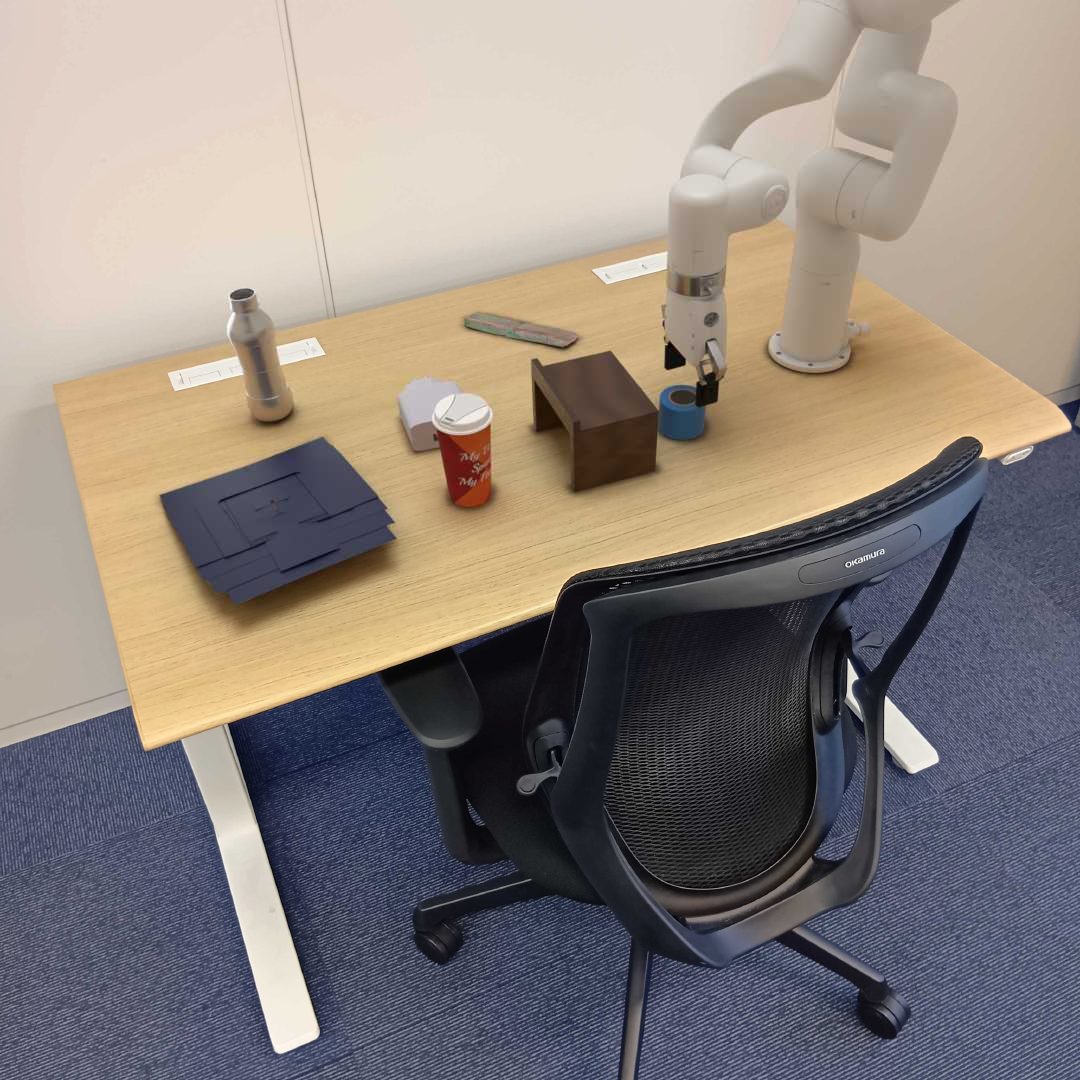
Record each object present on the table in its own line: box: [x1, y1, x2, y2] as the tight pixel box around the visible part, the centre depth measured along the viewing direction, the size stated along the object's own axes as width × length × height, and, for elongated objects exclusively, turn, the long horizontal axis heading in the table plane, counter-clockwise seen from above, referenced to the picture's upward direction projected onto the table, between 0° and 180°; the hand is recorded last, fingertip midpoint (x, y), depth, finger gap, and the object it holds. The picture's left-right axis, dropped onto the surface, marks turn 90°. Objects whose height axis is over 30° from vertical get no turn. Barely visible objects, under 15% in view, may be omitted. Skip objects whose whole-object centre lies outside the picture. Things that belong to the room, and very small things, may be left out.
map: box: [463, 311, 580, 348], centre depth 162 cm, size 5×20×1 cm, turn 64°
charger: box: [397, 374, 464, 452], centre depth 144 cm, size 5×9×15 cm
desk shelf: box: [530, 350, 659, 493], centre depth 135 cm, size 12×16×12 cm
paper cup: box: [432, 393, 494, 508], centre depth 127 cm, size 8×8×14 cm
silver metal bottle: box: [226, 287, 294, 423], centre depth 141 cm, size 6×7×20 cm
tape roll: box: [658, 384, 707, 441], centre depth 140 cm, size 7×7×5 cm
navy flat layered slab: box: [159, 436, 398, 606], centre depth 127 cm, size 24×30×4 cm
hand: (690, 385), depth 138 cm, fingers open, 9 cm apart
